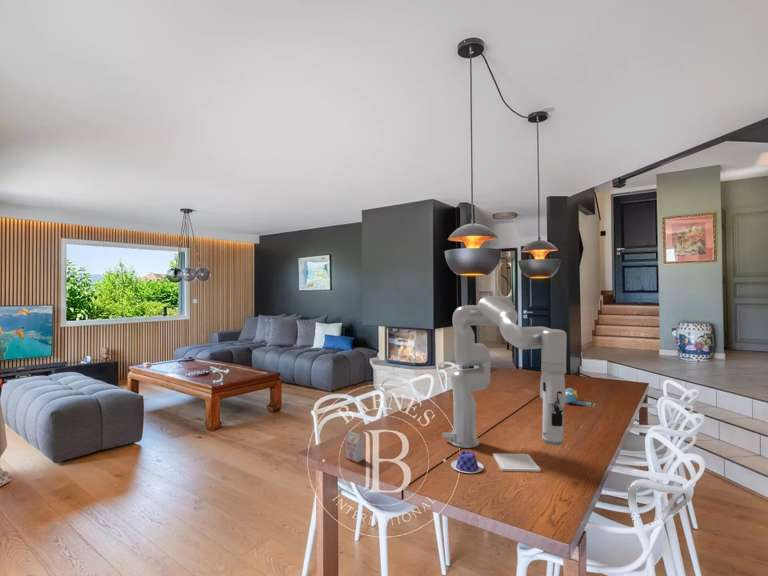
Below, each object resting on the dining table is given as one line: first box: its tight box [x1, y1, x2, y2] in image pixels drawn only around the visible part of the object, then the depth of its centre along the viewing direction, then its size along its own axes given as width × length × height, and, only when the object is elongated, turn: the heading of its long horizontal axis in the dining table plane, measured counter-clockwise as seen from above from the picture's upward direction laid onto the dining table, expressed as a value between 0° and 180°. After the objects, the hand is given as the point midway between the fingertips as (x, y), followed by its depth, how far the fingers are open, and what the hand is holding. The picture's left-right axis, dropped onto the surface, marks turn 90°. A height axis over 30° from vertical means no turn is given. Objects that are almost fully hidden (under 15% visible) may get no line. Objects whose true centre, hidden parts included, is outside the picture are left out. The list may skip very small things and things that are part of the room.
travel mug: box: [541, 382, 564, 446], centre depth 131 cm, size 6×7×20 cm
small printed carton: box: [344, 430, 365, 463], centre depth 157 cm, size 4×7×10 cm, turn 49°
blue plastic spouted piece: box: [565, 387, 597, 407], centre depth 239 cm, size 28×9×15 cm
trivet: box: [492, 452, 542, 473], centre depth 153 cm, size 14×14×1 cm
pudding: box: [450, 450, 484, 474], centre depth 150 cm, size 12×12×5 cm
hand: (552, 421), depth 131 cm, fingers closed on travel mug, 6 cm apart
